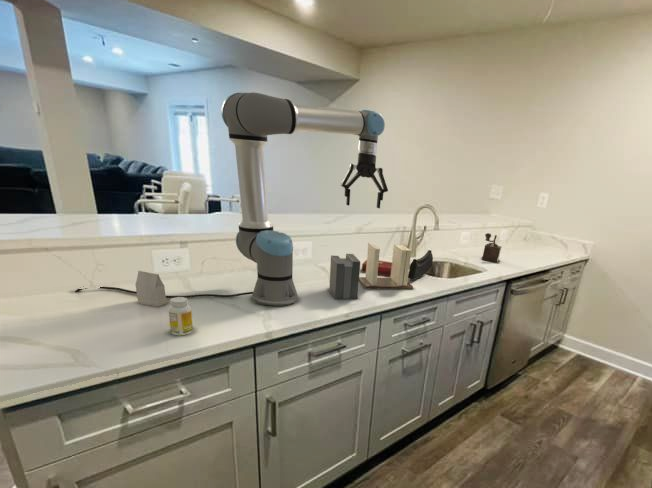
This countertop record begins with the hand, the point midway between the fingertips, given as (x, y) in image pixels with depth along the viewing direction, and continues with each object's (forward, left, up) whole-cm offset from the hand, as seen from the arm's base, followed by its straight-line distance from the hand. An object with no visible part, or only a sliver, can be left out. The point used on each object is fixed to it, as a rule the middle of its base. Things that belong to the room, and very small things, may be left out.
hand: (363, 206), depth 166 cm
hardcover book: (+16, +9, -32) cm, 37 cm away
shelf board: (+10, -11, -32) cm, 35 cm away
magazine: (+34, +5, -32) cm, 47 cm away
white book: (+3, -11, -30) cm, 33 cm away
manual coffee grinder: (+100, +43, -32) cm, 113 cm away
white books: (+16, -11, -30) cm, 36 cm away
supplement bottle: (-64, -56, -32) cm, 91 cm away
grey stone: (-75, -33, -32) cm, 88 cm away
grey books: (-12, -24, -32) cm, 42 cm away
